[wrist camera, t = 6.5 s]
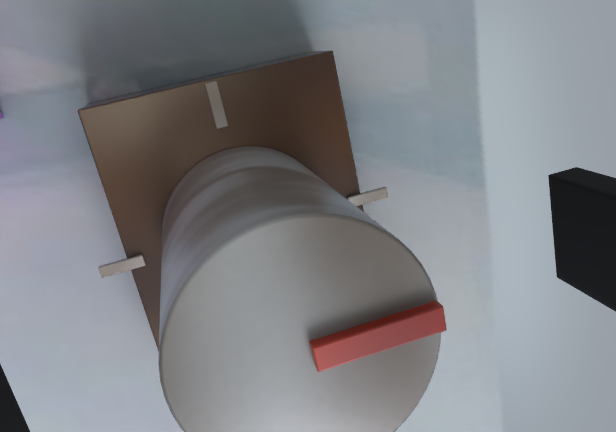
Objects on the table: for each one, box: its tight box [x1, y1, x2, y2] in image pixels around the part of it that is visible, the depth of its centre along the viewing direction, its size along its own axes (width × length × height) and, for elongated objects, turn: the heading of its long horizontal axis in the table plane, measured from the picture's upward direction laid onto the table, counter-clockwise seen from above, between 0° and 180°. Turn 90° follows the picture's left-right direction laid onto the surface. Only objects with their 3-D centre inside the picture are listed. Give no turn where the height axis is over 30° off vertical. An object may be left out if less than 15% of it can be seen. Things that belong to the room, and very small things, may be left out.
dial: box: [159, 146, 446, 432], centre depth 15 cm, size 6×6×9 cm
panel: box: [78, 51, 388, 351], centre depth 20 cm, size 10×10×3 cm
